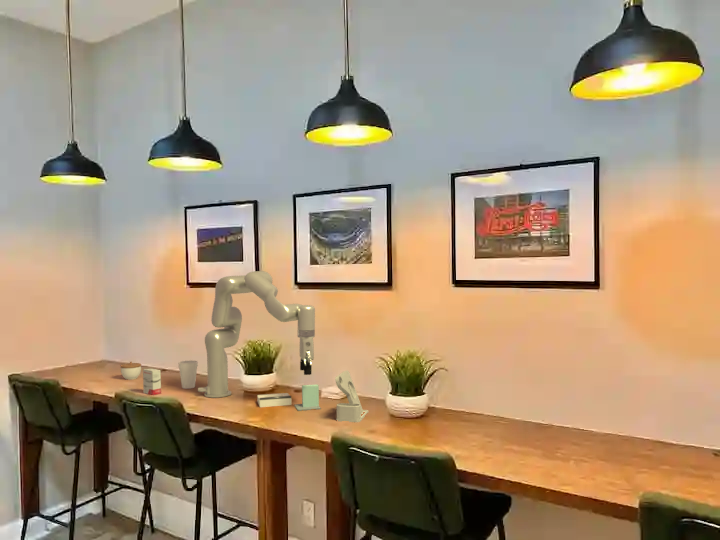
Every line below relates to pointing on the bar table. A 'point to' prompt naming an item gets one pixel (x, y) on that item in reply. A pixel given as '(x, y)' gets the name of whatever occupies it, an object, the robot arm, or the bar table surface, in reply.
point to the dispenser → (274, 400)
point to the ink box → (152, 381)
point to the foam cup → (188, 373)
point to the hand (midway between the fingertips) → (305, 372)
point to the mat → (300, 407)
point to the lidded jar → (131, 370)
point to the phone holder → (352, 408)
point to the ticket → (310, 395)
